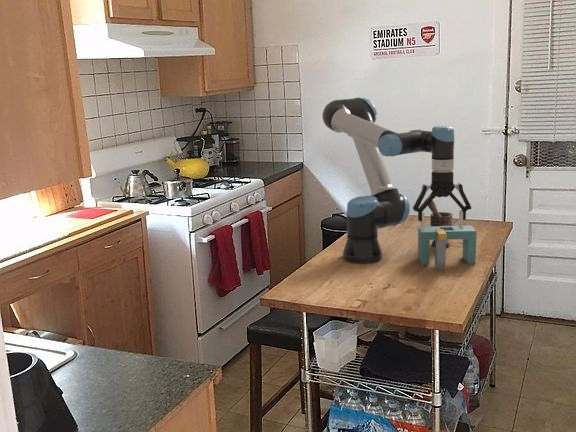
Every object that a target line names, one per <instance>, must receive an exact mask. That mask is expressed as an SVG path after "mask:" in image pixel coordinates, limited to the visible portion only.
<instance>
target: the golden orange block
mask: <svg viewBox="0 0 576 432" xmlns="http://www.w3.org/2000/svg"><path fill="white" fill-rule="evenodd" d="M435 235H436V236H435V247H434V252H435V253H434V268H435V271H446V259H447V258H446V257H447V256H446V255H447V247H446V239H447V234H446V232H445V231H444V230H443V229H435Z"/></svg>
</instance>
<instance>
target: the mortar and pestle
mask: <svg viewBox="0 0 576 432" xmlns="http://www.w3.org/2000/svg"><path fill="white" fill-rule="evenodd" d="M427 207H428V208H429V210H430V211H431V214H430V220H429V221H430V226H453V215H454V214H453V213H451V212H446V211H438V208H437V205H436V202H435V201H434V199H433V200H432V201H431V202H430V203H429V205H428V206H427ZM431 245H432V246H433V247H434V248H435V240H432V242H431ZM450 246H451V241H450V239H449V240H446V248H448V247H450Z"/></svg>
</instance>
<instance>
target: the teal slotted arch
mask: <svg viewBox="0 0 576 432" xmlns="http://www.w3.org/2000/svg"><path fill="white" fill-rule="evenodd" d="M435 229H443V230H444V231H445V232H446V234H447V239H446V240H449V241H450V240H462V259H463V260H464V261H465V262H466V264H467V265H471V264H472V265H474V264H476V262H477V261H476V260H477V234H478V233H477V230H476V229H475V228H474V227H473V226H472V225H463V230H461V229H460V228H459V225H452V226H431V225H430V226H424V231H422V230H421V226H418V228H417V231H418V233H417V260H418V262H419V264H420V265H421V266H423V265H424V266H425V265H427V266H428V265H430V248H431V247H430V245H431V241H434V240H435V236H436V235H435Z"/></svg>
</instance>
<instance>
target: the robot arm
mask: <svg viewBox="0 0 576 432" xmlns="http://www.w3.org/2000/svg"><path fill="white" fill-rule="evenodd" d="M375 106H376V105H374V102H372V101H371V100H370V99H368V98H365V97H354V98H345V99H334V100H331V101H330V102H329V103H327V105H325V106H324V109H323V111H322V117H321V118H322V122H323V124H324V125H325V127H327V128H328V129H330V130H331V131H333V132H335V133H339V134H341V133H343V134H346V135H347V136H348V137H350V138H351V139H352V140H353V143H354V146H355V148H356V151H357V155H358V157H359V160H360V163H361V166H362V169H363V172H364V175H365V178H366V181H367V184H368V186H369V189H370V195H364V196H362V195H361V196H357V197H353V198H351V199H349V201H348V202H347V205H346V221H347V222H346V226H347V227H346V232H347V233H346V236H347V237H346V238H347V239H346V242H345V245H344V248H343V252H342V259H343V260H344V261H347V262H349V263H354V264H371V263H372V264H373V263H376V262H379V261H381V260H382V259H383V252H382V251H383V250H382V248H381V244H380V242H379V237H378V236H379V235H378V233H379V232H378V231H379V230H378V229H384V228H387V227H388V228H389V227H392V226H393V227H395V226H398V225H400V224H403V223H405V221H406V220H407V219H408V217H409V215H410V210H411V209H410V207H411V206H410V202H409V199H408V198H407V196H406V195H404V194H401V193H400V192H399V190H398V187H396V186H393V183H392V181H391V178H390V177H389V172H388V171H387V167H386V165H385V162H384V158H383V157H396V156H401V155H408V154H409V155H410V154H415V153H422V152H423V153H430V154H431V170H432V171H431V183H430V185H429V184H422V185H421V186H422V187H421V191H420V193H419V194H418V197H417V199H416V201H415V203H414V204H413V207H412V210H413V211H414V212H417V219H418V222H420V227H421V230H422V231H424V227H425V212H424V210H426V208H427V207H428V205H429V203H430V202H431V201H432V200H433V201H434V199H435V198H436V197H437V198H442V197H443V198H448V197H450V198H451V199H452V201H454V202H455V203H456V205H457V206H458V207H459V208H460V209H459V211H458V226H459V228H460V229H461V230H463V226H464V225H463V224H464V220H466V219H467V211H469V210H471V209H472V205H471V204H470V202H469V199H468V198H467V195H466V194H465V191H464V187H463V184H462V183H460V182H458V183H456V184H454V171H453V170H454V162H455V161H454V158H455V157H454V156H455V154H454V152H455V151H454V150H455V129H454V128H453V127H452V126H450V125H445V126H444V125H438V126H433V127H432V129H431V131H430V130H429V131H428V130H421V129H412V130H410V131H408V132H407V131H406V132H400V133H397V132H396V131H393V130H390V129H388V128H385V127H384V126H381V125H378V124H376V121H377V115H378V112H377V108H376V107H375ZM455 189H456V190H457V191H458V193H459V195H460V196H461V199H462V201H463V203H464V204H465V205H463V203H462V202H460V200H459V199H458V198H457V196H456V195H455V194H454V193H453V190H455ZM429 190H431V192H430V194H429V195H428V197H426V199H425V196H426V193H427V192H428V191H429ZM423 199H425V200H424V201H423ZM422 201H423V203H422Z"/></svg>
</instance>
